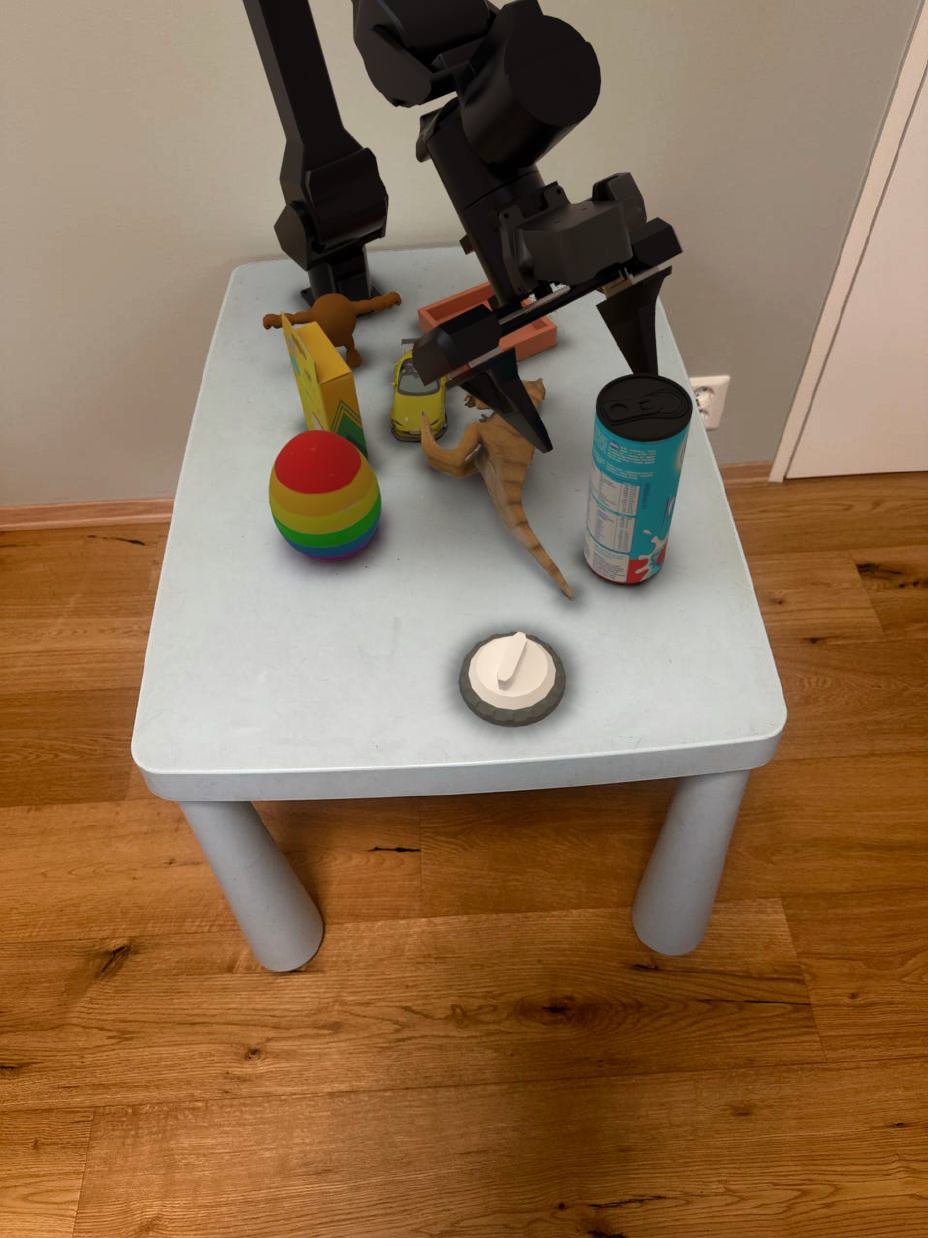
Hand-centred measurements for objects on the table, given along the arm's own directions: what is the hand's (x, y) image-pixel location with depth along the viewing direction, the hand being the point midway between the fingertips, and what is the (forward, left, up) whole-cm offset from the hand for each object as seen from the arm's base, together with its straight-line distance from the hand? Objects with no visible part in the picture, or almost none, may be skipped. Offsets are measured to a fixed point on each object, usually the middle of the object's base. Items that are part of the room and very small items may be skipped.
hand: (602, 421), depth 62 cm
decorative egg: (-10, -17, -11) cm, 23 cm away
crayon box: (-19, -13, -11) cm, 25 cm away
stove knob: (+8, -12, -11) cm, 19 cm away
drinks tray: (-24, +5, -11) cm, 27 cm away
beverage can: (+4, 0, -11) cm, 12 cm away
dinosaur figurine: (-8, -4, -11) cm, 14 cm away
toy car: (-20, -4, -11) cm, 23 cm away
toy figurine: (-28, -8, -11) cm, 32 cm away
